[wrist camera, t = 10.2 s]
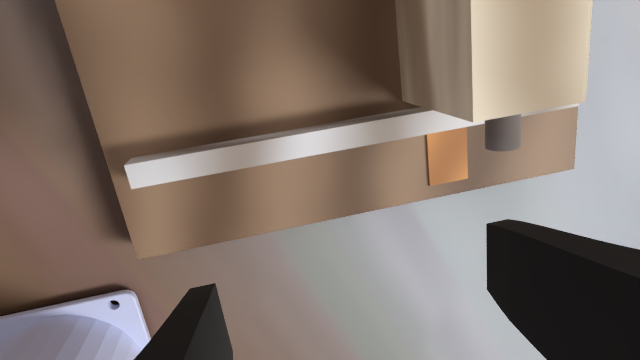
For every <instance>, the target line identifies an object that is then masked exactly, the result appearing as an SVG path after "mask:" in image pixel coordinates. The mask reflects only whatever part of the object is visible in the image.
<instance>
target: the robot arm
mask: <svg viewBox="0 0 640 360" xmlns="http://www.w3.org/2000/svg"><path fill="white" fill-rule="evenodd" d="M487 290H488V291H489V293H490V294H491V296H492V297H493V299H494V300H495V301H496V303H497V304H498V306H499V307H500V308H501V310H502V311H503V312H504V314H505V315H506V316H507V318H508V319H509V320H510V321H511V322H512V324H513V325H514V326H515V327H516V328H517V329H518V330H519V331H520V332H521V333H522V334H523V335H524V336H525V337H526V338H527V339H528V341H529V342H530V343H531V344H532V345H533V346H534V347H535V348H536V349H537V350H538V351H539V352H540V353H541V354H542V355H543V356H544V357H545V358H546V359H547V360H640V250H638V249H634V248H629V247H625V246H620V245H616V244H611V243H607V242H603V241H599V240H595V239H591V238H587V237H583V236H579V235H575V234H571V233H567V232H563V231H559V230H555V229H552V228H548V227H544V226H540V225H535V224H531V223H527V222H522V221H516V220H509V219H507V220H502V221H498V222H493V223H488V224H487ZM112 300H116V301H118V302H119V305H114V304H112V303H111V302H110V301H112ZM0 360H233V350H232V347H231V343H230V339H229V335H228V331H227V327H226V323H225V319H224V316H223V312H222V308H221V304H220V300H219V296H218V292H217V288H216V284H215V283H214V284H210V285H205V286H200V287H196V288H191V289H189V291H188V292H187V293H186V294H185V296H184V297H183V298H182V300H181V301H180V302H179V304H178V305H177V306H176V308H175V309H174V310H173V312H172V313H171V314H170V316H169V317H168V318H167V320H166V321H165V322H164V323H163V325H162V326H161V327H160V329H159V330H158V331H157V332H156V334H155V335H154V336H153V337H152V339H151V338H150V335H149V332H148V329H147V326H146V323H145V320H144V317H143V314H142V311H141V308H140V304H139V301H138V298H137V296H136V294H135V293H134V292H133V291H130V290H121V291H116V292H111V293H107V294H102V295H98V296H93V297H88V298H84V299H79V300H75V301H70V302H65V303H61V304H56V305H51V306H47V307H42V308H38V309H33V310H28V311H24V312H19V313H15V314H10V315H5V316H1V317H0Z"/></svg>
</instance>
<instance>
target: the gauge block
mask: <svg viewBox="0 0 640 360" xmlns="http://www.w3.org/2000/svg"><path fill="white" fill-rule="evenodd" d="M592 2H593V0H395V8H396V21H397V35H398V48H399V62H400V75H401V88H402V101H404V102H408V103H411V104H414V105H417V106H421V107H424V108H427V109H430V110H434V111H437V112H440V113H443V114H447V115H450V116H453V117H456V118H460V119H463V120H466V121H469V122H473V123H474V122H479V121H485V148H486V149H487V150H490V151H512V150H516V149H519V148H520V147H521V114H523V113H528V112H534V111H539V110H544V109H550V108H555V107H561V106H566V105H571V104H577V103H582V102H586V90H587V76H588V61H589V46H590V32H591V17H592Z"/></svg>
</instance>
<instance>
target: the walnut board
mask: <svg viewBox="0 0 640 360" xmlns="http://www.w3.org/2000/svg"><path fill="white" fill-rule="evenodd" d="M55 3H56V6H57V10H58V13H59V16H60V19H61V22H62V25H63V28H64V31H65V35H66V38H67V41H68V44H69V47H70V50H71V53H72V56H73V59H74V63H75V66H76V69H77V72H78V75H79V78H80V81H81V84H82V88H83V91H84V94H85V97H86V100H87V103H88V106H89V109H90V113H91V116H92V119H93V122H94V125H95V128H96V131H97V134H98V138H99V141H100V144H101V147H102V150H103V153H104V156H105V159H106V162H107V166H108V169H109V172H110V175H111V178H112V181H113V184H114V187H115V191H116V194H117V197H118V200H119V203H120V206H121V209H122V212H123V216H124V219H125V222H126V225H127V228H128V231H129V234H130V237H131V240H132V244H133V247H134V250H135V253H136V256H137V259H143V258H148V257H153V256H158V255H162V254H167V253H172V252H177V251H182V250H186V249H191V248H196V247H201V246H206V245H210V244H215V243H220V242H225V241H230V240H234V239H239V238H244V237H249V236H254V235H258V234H263V233H268V232H273V231H278V230H282V229H287V228H292V227H297V226H302V225H306V224H311V223H316V222H321V221H326V220H330V219H335V218H340V217H345V216H350V215H354V214H359V213H364V212H369V211H374V210H378V209H383V208H388V207H393V206H398V205H402V204H407V203H412V202H417V201H422V200H426V199H431V198H436V197H441V196H446V195H450V194H455V193H460V192H465V191H470V190H474V189H479V188H484V187H489V186H494V185H498V184H503V183H508V182H513V181H518V180H522V179H527V178H532V177H537V176H542V175H546V174H551V173H556V172H561V171H566V170H570V169H574V162H575V146H576V130H577V114H578V106H579V103H577V104H571V105H566V106H561V107H555V108H550V109H544V110H539V111H534V112H528V113H523V114H521V147H520V148H519V149H516V150H512V151H490V150H487V149H486V148H485V121H479V122H474V123H473V122H469V121H466V120H463V119H460V118H456V117H453V116H450V115H447V114H443V113H440V112H437V111H434V110H430V109H427V108H424V107H421V106H417V105H414V104H411V103H408V102H404V101H402V88H401V75H400V62H399V48H398V35H397V21H396V8H395V0H55Z"/></svg>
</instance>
